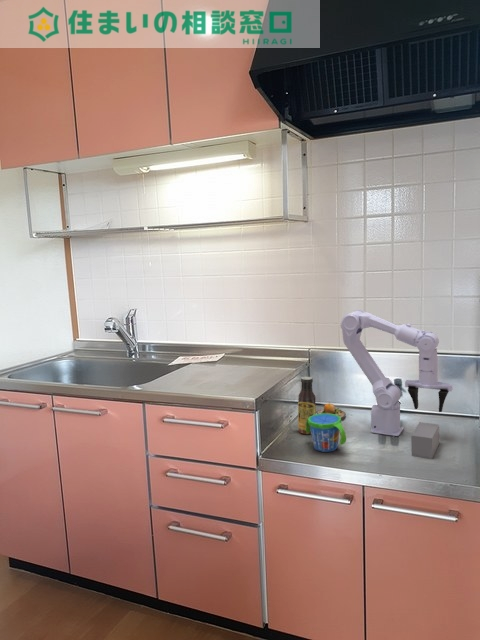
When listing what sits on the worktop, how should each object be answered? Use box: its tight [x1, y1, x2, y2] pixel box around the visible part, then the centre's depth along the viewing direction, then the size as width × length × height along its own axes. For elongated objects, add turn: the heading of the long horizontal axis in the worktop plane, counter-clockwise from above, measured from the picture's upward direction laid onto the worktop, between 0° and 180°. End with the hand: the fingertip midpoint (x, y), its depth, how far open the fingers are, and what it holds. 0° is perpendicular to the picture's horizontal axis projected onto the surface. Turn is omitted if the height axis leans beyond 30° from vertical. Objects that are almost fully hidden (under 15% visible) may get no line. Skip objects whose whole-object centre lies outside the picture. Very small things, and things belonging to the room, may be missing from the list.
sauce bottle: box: [297, 376, 317, 435], centre depth 174 cm, size 7×6×20 cm
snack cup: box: [305, 413, 347, 453], centre depth 160 cm, size 16×10×10 cm
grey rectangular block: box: [410, 421, 440, 459], centre depth 155 cm, size 6×12×6 cm, turn 149°
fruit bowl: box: [316, 401, 347, 421], centre depth 189 cm, size 12×12×8 cm
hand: (428, 409), depth 164 cm, fingers open, 7 cm apart
